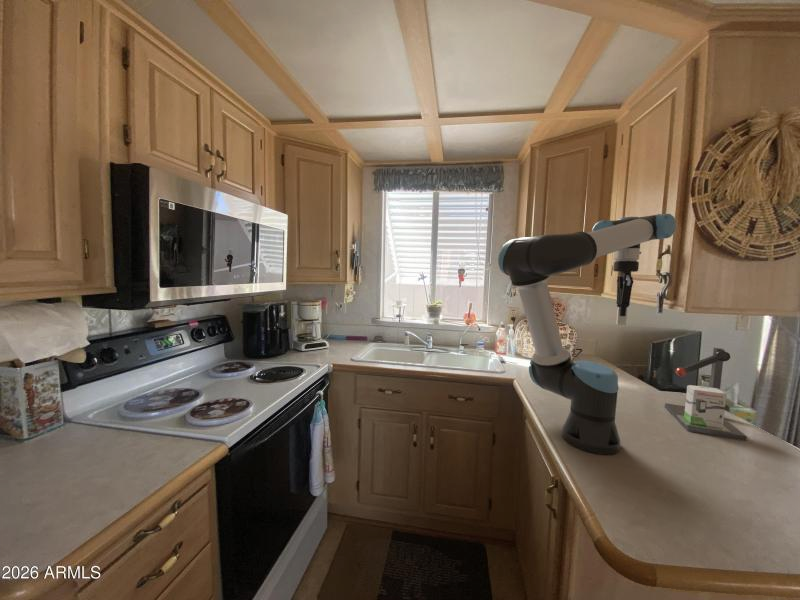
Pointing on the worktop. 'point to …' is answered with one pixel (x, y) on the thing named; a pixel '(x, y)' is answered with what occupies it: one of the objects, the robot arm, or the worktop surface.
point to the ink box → (705, 406)
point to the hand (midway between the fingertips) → (621, 324)
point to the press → (726, 431)
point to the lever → (703, 362)
